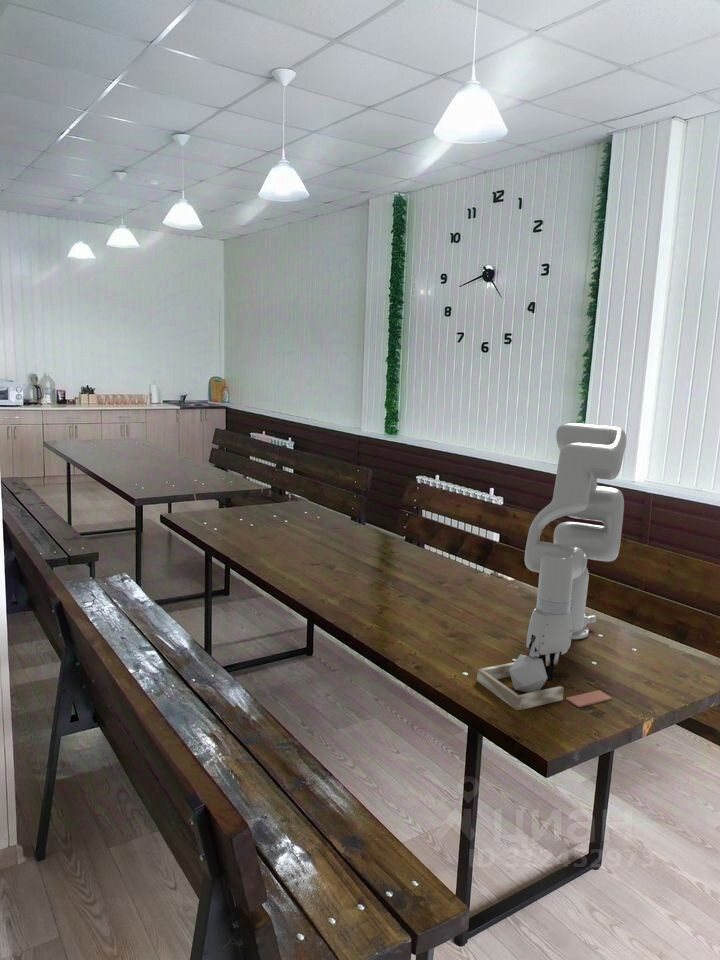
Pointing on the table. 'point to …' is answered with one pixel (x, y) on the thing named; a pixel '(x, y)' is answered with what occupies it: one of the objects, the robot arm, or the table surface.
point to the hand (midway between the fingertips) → (546, 678)
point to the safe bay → (510, 697)
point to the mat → (588, 698)
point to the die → (528, 674)
